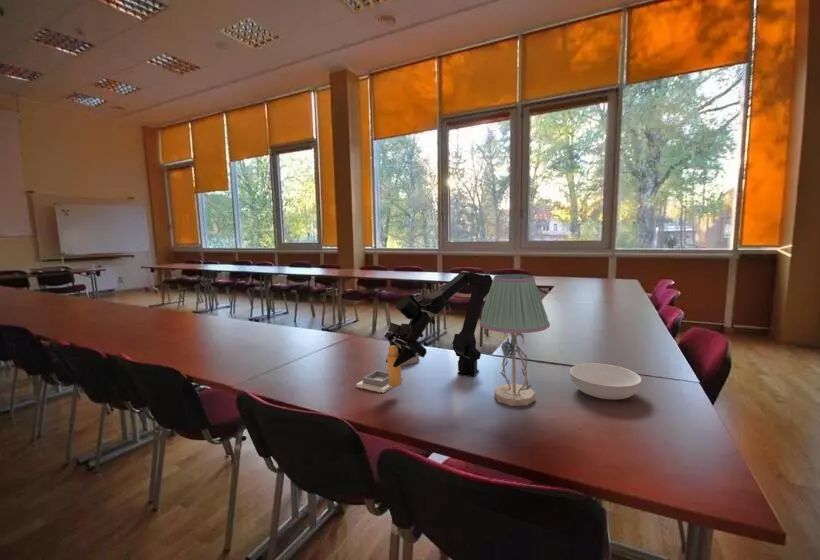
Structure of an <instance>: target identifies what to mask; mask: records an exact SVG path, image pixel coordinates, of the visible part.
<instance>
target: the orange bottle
mask: <svg viewBox="0 0 820 560" xmlns="http://www.w3.org/2000/svg"><path fill="white" fill-rule="evenodd" d="M388 353H389V355H388V354H387V356H386V360H387V372H388V383H389V386H392V388H393V387H394V388H395V387H400V386H401V385H402V383H403V382H402V381H401V378H402V366H401V365H399V366H397V367H394V366H393V365H394V363H395V361H396V359H397V357H398V356H399V354H398V346H395V345H393V346H390V345H389V346H388Z"/></svg>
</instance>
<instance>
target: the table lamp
mask: <svg viewBox="0 0 820 560" xmlns="http://www.w3.org/2000/svg"><path fill="white" fill-rule="evenodd" d="M492 279H493V282H492V285H491V288H490V291H489V293H488V294H487V295H486V299H485V302H484V305H483V309H482V313H481V319H480V320H479V326H480V327H481V328H482V329H485V330H488V331H492V332H493V331H494V332H499V333H503V334H504V336H505V338H506V336H507V334H510V337H511V340H510V339H509V337H507V338H506V341H504V342H502V345H501V346H500V347H501V351H502V353H503V358H502V363H501V365H502V366H501V367H502V371H499V374H500V375H501V376H502V377H503V378H504V379H505V381H506V383H505V384H502V385H497V386H496V387H495V388H494V392H493V393H494V397H493V398H495V400H496V401H497V402H498V403H501V404H504V405H507V406H510V407H517V406H518V407H520V406H525V407H526V406H528V405H530V404H532V403H533V402H535V401H536V391H534V390H533V389H532V388H531V386H532V384H529V381H528V371H527V366H528V357H527V356H528V355H527V354H525V353H524V352H523V350H521V348H520V347H519V345H518V340H517V339H518V338H517V337H518V336H519V337H521V339H522V345H524V344H525V339H524V336H525V335H524V334H528V333H529V334H530V333H538V332H541V331H545V330H548V329H549V328H550V325H551V324H550V321H549V319H548V318H549V317H548V315H547V312H546V310H545V306H544V303H543V301H542V297H541V295H540V292H539V289H538V286H537V283H536V278H535V275H532V274H525V273H524V274H523V273H522V274H521V273H520V274H519V273H512V274H511V273H508V274H498V275H494V276H493V278H492ZM509 340H510V341H509ZM516 353H517V355H518V357H519V359H520V362H521V364H522V367H521V368H520V369H521V371H522V375H523V376H524V381H523V385H522V384H519V383H517V371H516V370H517V369H516V368H517V367H516V366H517V365H516V364H517V363H516ZM522 355H523V356H524V357H525V360H524V359H523V356H522ZM508 357H510V358H511V359H512V360H511V361H512V362H511V364H512V365H511V366H512V368H511V371H512V373H511V374H512V383H510V380H509V379H508V377H507V374H506V369H505V368H506V367H507V365H508V363H509V361H508V360H507V358H508Z"/></svg>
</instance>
